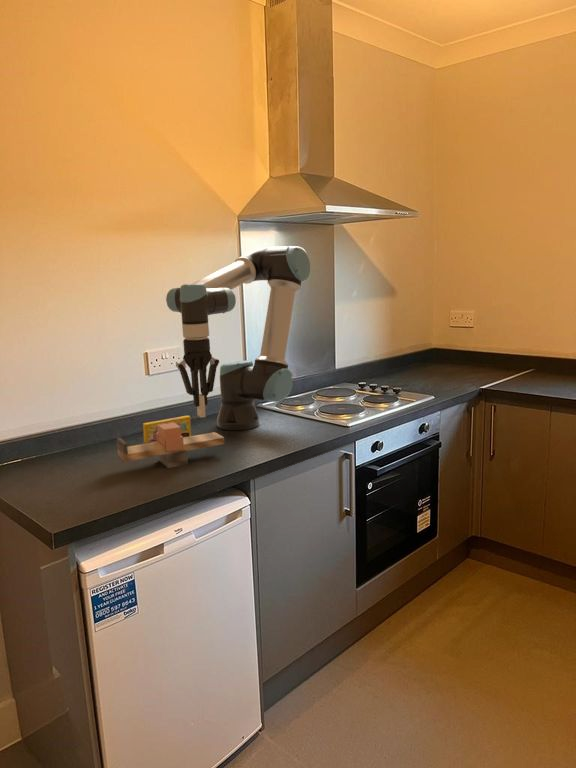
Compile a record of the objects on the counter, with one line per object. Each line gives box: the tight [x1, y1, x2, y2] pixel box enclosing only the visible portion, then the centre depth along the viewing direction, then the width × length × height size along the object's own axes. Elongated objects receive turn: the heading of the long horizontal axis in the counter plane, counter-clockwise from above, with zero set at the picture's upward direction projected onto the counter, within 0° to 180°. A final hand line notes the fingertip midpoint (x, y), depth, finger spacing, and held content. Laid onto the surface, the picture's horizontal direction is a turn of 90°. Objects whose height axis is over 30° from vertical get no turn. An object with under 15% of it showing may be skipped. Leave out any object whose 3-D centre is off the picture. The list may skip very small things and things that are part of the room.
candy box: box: [142, 414, 192, 444], centre depth 192 cm, size 16×2×8 cm, turn 128°
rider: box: [156, 422, 184, 452], centre depth 173 cm, size 5×9×6 cm, turn 30°
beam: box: [116, 431, 226, 469], centre depth 174 cm, size 30×8×9 cm, turn 120°
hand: (201, 416), depth 177 cm, fingers closed
